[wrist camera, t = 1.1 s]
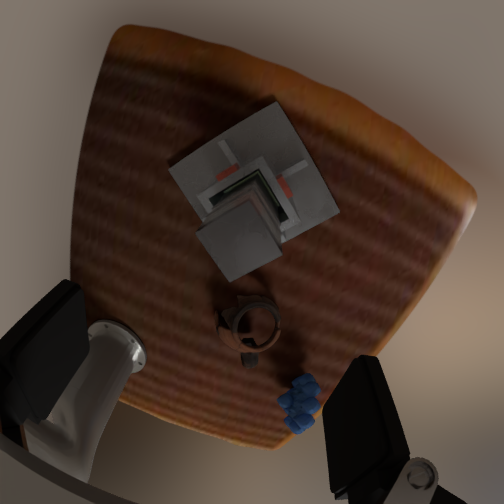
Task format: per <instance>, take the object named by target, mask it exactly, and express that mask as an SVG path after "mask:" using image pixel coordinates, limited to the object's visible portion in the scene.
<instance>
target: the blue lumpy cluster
mask: <svg viewBox="0 0 504 504" xmlns="http://www.w3.org/2000/svg"><path fill="white" fill-rule="evenodd" d="M292 385H293V386H294V388H291V389H290V390H289V391H287V392H286V393H285V394H283V395H281V396H280V397H279V398H278V399H277V401H278V403H279V405H280V406H281V407H282V408H283V409H284V411H285V412H286V413H287V414H288V416H287V417H286V418H285V419H284V422H285V423H286V425H287V426H288V427H289V428H290V429H291V431H292V432H293V433H295V434H301V433H302V432H303V431H305V430H306V429H307V428H309V427H311V426H312V425H313V424H314V422H315V420H314V418H313V416H312V415H311V414H313V413H315V412H317V411H318V410H319V409H320V407H321V406H320V403H319V402H318V400H317V399H316V398H315V396H317V395H318V394H319V393H320V392H321V389H320V387H319V385H318V383H316V381H315V379H314V377H313V375H311V374H310V373H306V374H304V375H302V376H299V377H297V378H295V379H294V380H293V381H292Z"/></svg>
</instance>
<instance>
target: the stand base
mask: <svg viewBox="0 0 504 504" xmlns="http://www.w3.org/2000/svg"><path fill="white" fill-rule="evenodd" d="M258 168H259V169H260V171H261V173H262V174H263V176H264V177H265V179H266V181H267V182H268V184H269V186H270V187H271V189H272V191H273V192H274V194H275V196H276V197H277V200H278V201H279V205H280V206H278V213H279V221H280V223H281V226H280V230H281V232H282V236H281V243H284V242H286V241H288V240H289V239H291V238H293V237H295V236H297V235H299V234H301V233H302V232H304V231H306V230H308V229H310V228H312V227H314V226H315V225H317V224H319V223H321V222H323V221H325V220H326V219H328V218H330V217H332V216H334V215H336V214H338V213H339V212H340V211H339V209H338V207H337V205H336V203H335V201H334V199H333V197H332V195H331V194H330V192H329V190H328V188H327V186H326V184H325V182H324V180H323V179H322V177H321V175H320V173H319V171H318V169H317V168H316V166H315V164H314V162H313V160H312V159H311V157H310V155H309V153H308V152H307V150H306V148H305V147H304V145H303V143H302V141H301V140H300V138H299V136H298V135H297V133H296V131H295V130H294V128H293V126H292V125H291V123H290V121H289V120H288V118H287V117H286V115H285V113H284V112H283V110H282V109H281V107H280V106H279V104H278V102H277V101H276V102H274V103H273V104H271V105H269V106H267V107H265V108H264V109H262V110H260V111H258V112H257V113H255V114H253V115H251V116H250V117H248V118H246V119H245V120H243V121H241V122H240V123H238V124H236V125H235V126H233V127H231V128H230V129H228V130H226V131H225V132H223V133H222V134H220V135H219V136H217V137H215V138H214V139H212V140H211V141H209V142H208V143H206V144H205V145H203V146H202V147H200V148H199V149H197V150H196V151H194V152H193V153H191V154H190V155H188V156H187V157H185V158H184V159H182V160H181V161H180V162H178V163H177V164H175V165H174V166H172V167H171V168H170V169H168V170H169V172H170V173H171V175H172V176H173V178H174V179H175V181H176V182H177V184H178V186H179V187H180V189H181V190H182V192H183V193H184V195H185V196H186V198H187V199H188V201H189V202H190V204H191V205H192V207H193V208H194V210H195V211H196V213H197V214H198V216H199V217H200V219H201V220H202V222H204V220H205V219H206V217H205V216H206V215H207V214H208V213H210V212H211V211H212V207H213V206H215V205H216V204H217V203H218V201H219V200H220V199H221V197H222V196H223V195H224V190H225V189H227V188H228V187H230V185H231V184H233V183H235V182H236V181H238V180H240V179H241V178H243V177H245V176H246V175H248V174H250V173H251V172H253V171H255V170H256V169H258Z"/></svg>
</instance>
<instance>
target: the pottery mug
mask: <svg viewBox="0 0 504 504" xmlns="http://www.w3.org/2000/svg"><path fill="white" fill-rule="evenodd" d="M237 298H238V308H236V307H231V308H229V309H224V310H223V312H222V314H221V315H222V316H223V317H224V319H225V321H226V323H227V324H228V326H229V328H230V329H227V328H224V327H223V326H221V325H220V323H219V320H218V316H219V315H218V311H217V310H216V311H215V316H214V319H215V325H216V330H217V333H218V335H219V336H220V338H221V339H222V341H223V342H224V343H225V344H227V345H228V346H229V347H230V348H232V349H234V350H237V351H238V352H240V353H241V360H242V365H243V366H244V367H245V368H248V369H250V368H254V367H255V366H256V365H257V363H258V354H259V352H262V351H264V350H266V349H268V348H269V347H271V346H272V345H273V344H274V343H275V342H276V341H277V339H278V338H279V335H280V333H281V329H280V328H279V325H280V319H281V316H280V313H279V309H278V307H277V305H276V304H275V303H274V302H273V301H272V300H270V299H269V298H267V297H265V296H261V297H260V296H259V295H251V296H242V295H237ZM256 307H261V308H265V309H267V310H269V311H270V312H271V313H272V315H273V316H274V319H275V329H274V332H273V334H272V336H271V337H270V338H269V339H268V340H267V341H266V342H265V343H263V344H261V345H259V346H258V345H257V344H256V343H255V341H254V339H253V338H243V340H241V339H240V337H239V335H238V331H237V328H238V323H239V320H240V319H241V317H242V316H243V314H244V313H245V312H246V311H248V310H250V309H253V308H256Z"/></svg>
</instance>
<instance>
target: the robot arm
mask: <svg viewBox="0 0 504 504" xmlns="http://www.w3.org/2000/svg"><path fill="white" fill-rule="evenodd" d="M146 360H147V354H146V350H145V348H144V345H143V344H142V342H141V340H140V339H139V338H138V337H137V336H136V335H135V334H134V333H133V332H132V331H131V330H130V329H128V328H127V327H125V326H123V325H122V324H120V323H117V322H115V321H111V320H98V321H96V322H94V323H93V324H92V325H91V326H90V327H89V329H87V320H86V311H85V301H84V292H83V290H82V289H81V287H80V285H79V284H77V283H75V282H72V281H69V280H67V279H64V280H62V281H61V282H60V283H59V284H58V285H57V286H55V287H54V288H53V289H52V290H51V291H50V292H49V293H48V294H46V295H45V296H44V297H43V298H42V299H41V300H40V301H39V302H38V303H37V304H36V305H35V306H34V307H33V308H31V309H30V310H29V311H28V312H27V313H26V314H25V315H24V316H23V317H22V318H21V319H20V320H19V321H18V322H17V323H16V324H15V325H14V326H13V327H12V328H11V329H10V330H9V331H8V332H7V333H6V334H5V335H4V336H3V337H2V338H1V339H0V504H138V503H135V502H132V501H129V500H126V499H123V498H121V497H118V496H116V495H113V494H111V493H108V492H106V491H103V490H101V489H98V488H96V487H94V486H92V485H89V484H87V482H88V480H89V476H90V472H91V467H92V462H93V458H94V453H95V450H96V447H97V444H98V442H99V439H100V436H101V434H102V432H103V430H104V427H105V425H106V423H107V421H108V419H109V417H110V415H111V413H112V411H113V408H114V406H115V404H116V402H117V400H118V398H119V396H120V394H121V392H122V390H123V388H124V386H125V384H126V382H127V380H128V378H129V376H130V374H131V373H135V372H138V371H140V370H141V369H142V368H143V367H144V365H145V363H146ZM51 411H52V417H53V422H54V424H53V423H51V422H50V421H48V420H47V419H46V418H47V417H48V416H49V414H50V412H51ZM322 416H323V425H324V433H325V441H326V451H327V461H328V471H329V482H330V490H331V492H332V493H334V494H335V500H340V499H341V500H342V499H348V503H349V504H467V503H466V502H465V501H463V500H461V499H460V498H458V497H457V496H455V495H453V494H451V493H450V492H448V491H447V490H445V489H444V488H442V487H441V486H439V485H438V479H439V478H438V472H437V470H436V467H435V466H434V465H433V464H432V463H431V462H430V461H429V460H427V459H425V458H420V457H416V458H412V459H411V460H410V456H409V455H410V451H409V448H408V445H407V441H406V438H405V435H404V431H403V428H402V425H401V422H400V419H399V416H398V413H397V410H396V407H395V404H394V401H393V398H392V395H391V392H390V390H389V387H388V384H387V381H386V378H385V376H384V373H383V370H382V368H381V365H380V362H379V360H378V358H377V357H375V356H368V355H360V356H359V357H358V358H355V359H354V360H353V361H352V363H351V364H350V366H349V367H348V369H347V371H346V372H345V374H344V376H343V377H342V379H341V380H340V382H339V383H338V385H337V386H336V388H335V390H334V391H333V393H332V394H331V396H330V397H329V399H328V400H327V401H326V403H325V404H324V406H323V410H322Z"/></svg>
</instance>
